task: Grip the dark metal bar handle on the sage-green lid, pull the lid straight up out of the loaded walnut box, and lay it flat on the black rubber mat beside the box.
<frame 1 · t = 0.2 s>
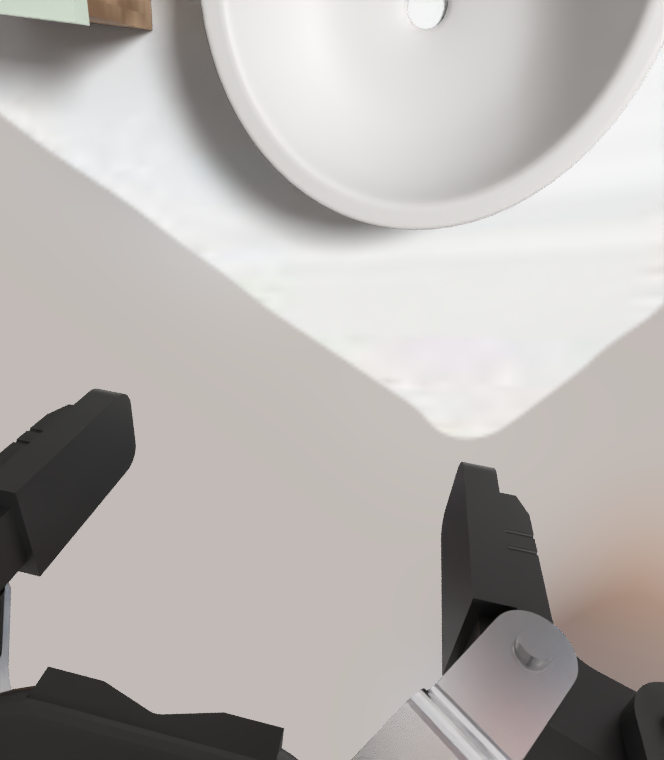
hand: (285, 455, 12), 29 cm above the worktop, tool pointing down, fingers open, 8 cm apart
white sink basin: (427, 6, 31), on the worktop
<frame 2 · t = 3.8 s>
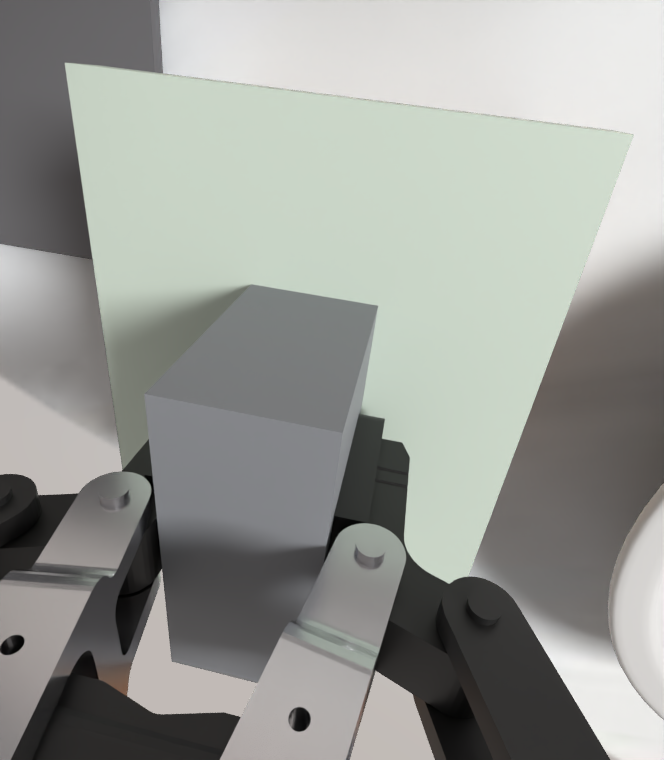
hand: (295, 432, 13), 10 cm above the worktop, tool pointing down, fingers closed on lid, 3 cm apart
lid: (312, 395, 14), point 8 cm above the worktop, touching gripper, walnut box
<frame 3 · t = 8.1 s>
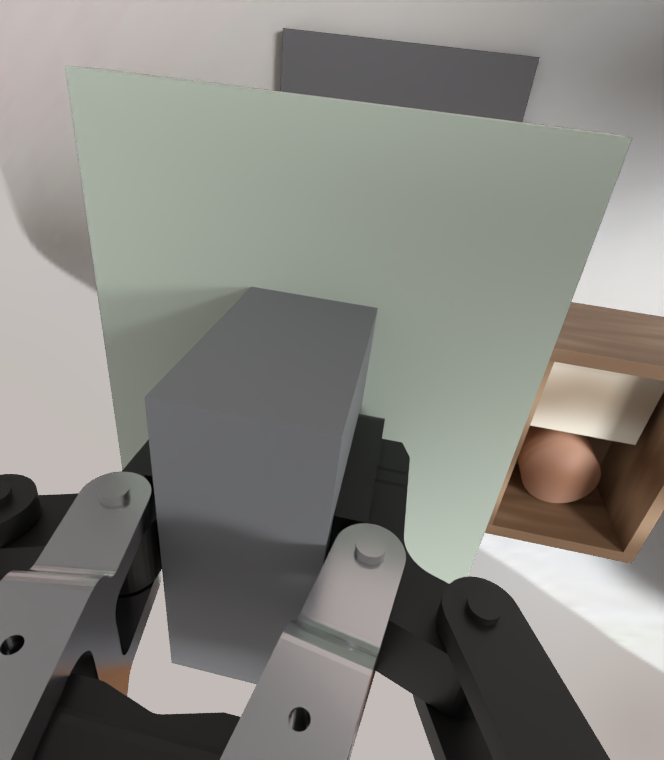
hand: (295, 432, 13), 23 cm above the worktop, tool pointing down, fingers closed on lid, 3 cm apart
lid: (311, 396, 14), point 22 cm above the worktop, touching gripper
walnut box: (562, 396, 36), on the worktop
rubber mat: (380, 226, 33), on the worktop
when the fingers open (5 cm above the worktop, at t = 12.0 s): lid drops 1 cm, resting on rubber mat.
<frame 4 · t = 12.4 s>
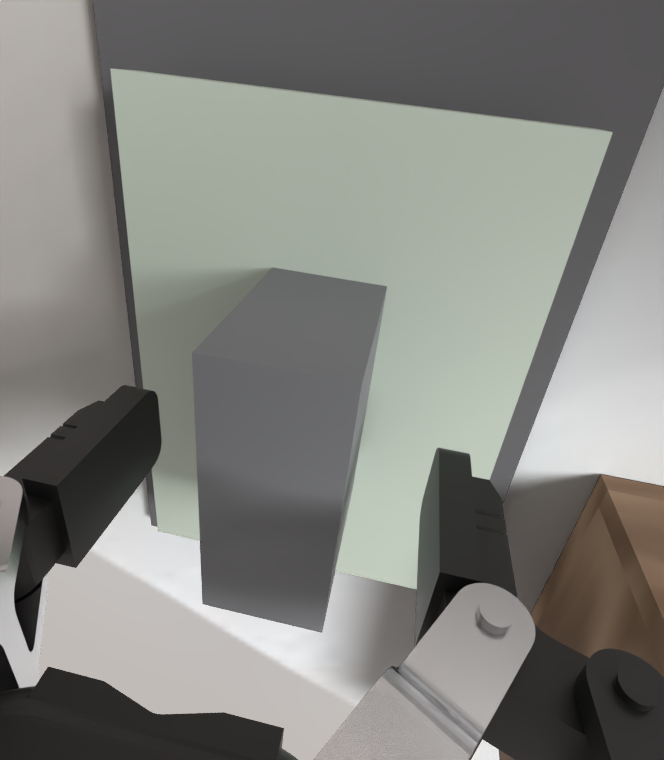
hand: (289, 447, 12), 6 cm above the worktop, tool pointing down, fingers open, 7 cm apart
lid: (324, 372, 16), point 2 cm above the worktop, touching rubber mat
walnut box: (661, 627, 21), on the worktop
rubber mat: (330, 348, 17), on the worktop
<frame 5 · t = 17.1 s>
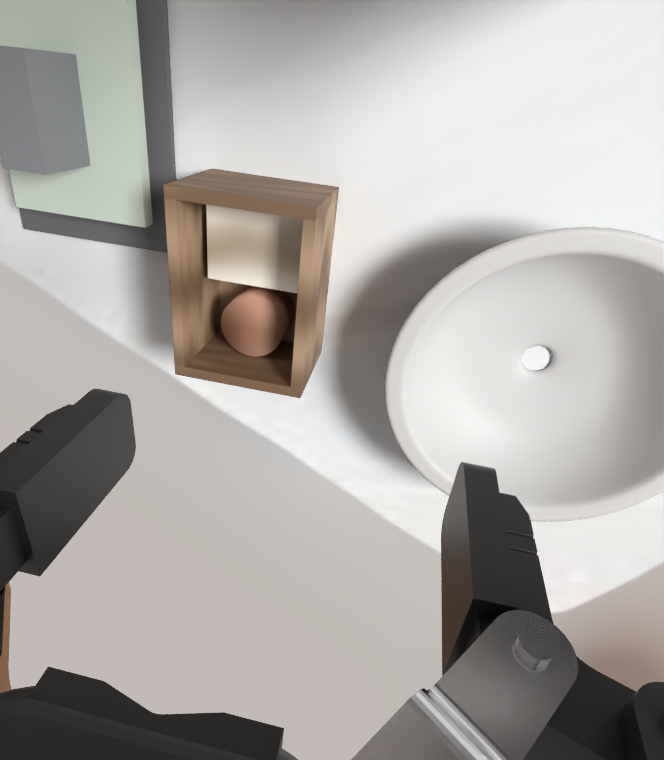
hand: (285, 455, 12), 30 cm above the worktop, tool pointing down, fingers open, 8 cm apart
lid: (74, 109, 37), point 2 cm above the worktop, touching rubber mat
walnut box: (270, 266, 42), on the worktop
rubber mat: (86, 108, 38), on the worktop
white sink basin: (536, 356, 42), on the worktop
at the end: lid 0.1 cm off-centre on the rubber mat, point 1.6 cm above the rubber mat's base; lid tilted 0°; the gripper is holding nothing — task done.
